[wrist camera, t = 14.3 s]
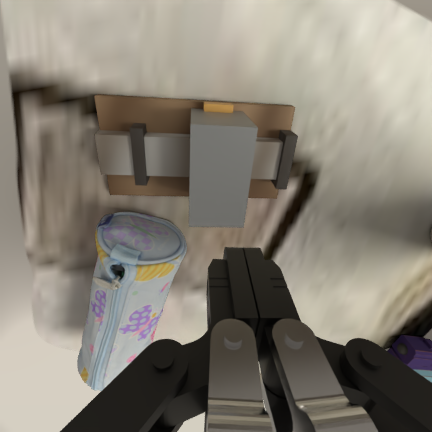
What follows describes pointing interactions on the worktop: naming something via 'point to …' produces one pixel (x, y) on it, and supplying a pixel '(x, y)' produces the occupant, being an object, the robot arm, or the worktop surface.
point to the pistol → (414, 354)
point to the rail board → (180, 123)
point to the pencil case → (127, 291)
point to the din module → (220, 165)
